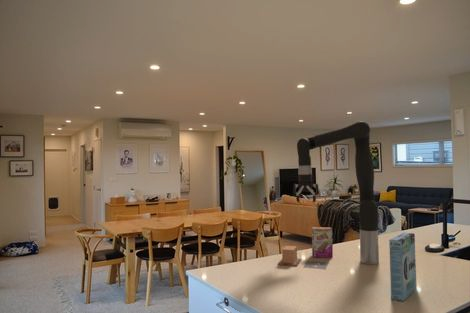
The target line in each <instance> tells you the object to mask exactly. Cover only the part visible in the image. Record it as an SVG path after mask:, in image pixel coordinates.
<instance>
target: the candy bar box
mask: <svg viewBox="0 0 470 313" xmlns="http://www.w3.org/2000/svg"><path fill="white" fill-rule="evenodd" d="M333 236H334V235H333V228H332V227H325V226H324V227H322V226H320V227H318V226H317V227H316V226H315V227H314V226H312V227H311V256H312V258H320V259H321V258H323V259H325V258H329V259H331V258H333V257H334V255H333V254H334V253H333V251H334V248H333V244H334V243H333V238H334V237H333Z"/></svg>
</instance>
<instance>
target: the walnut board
mask: <svg viewBox="0 0 470 313" xmlns="http://www.w3.org/2000/svg"><path fill="white" fill-rule="evenodd" d="M301 262H302V258H298V257H297V260H296V261H295V263H294V264H292V263H282V258H281V259H280V260H279V261H278V262H277V266H282V267H283V266H284V267H285V266H286V267H295V268H297V267H298V265H299V264H300V263H301Z"/></svg>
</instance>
